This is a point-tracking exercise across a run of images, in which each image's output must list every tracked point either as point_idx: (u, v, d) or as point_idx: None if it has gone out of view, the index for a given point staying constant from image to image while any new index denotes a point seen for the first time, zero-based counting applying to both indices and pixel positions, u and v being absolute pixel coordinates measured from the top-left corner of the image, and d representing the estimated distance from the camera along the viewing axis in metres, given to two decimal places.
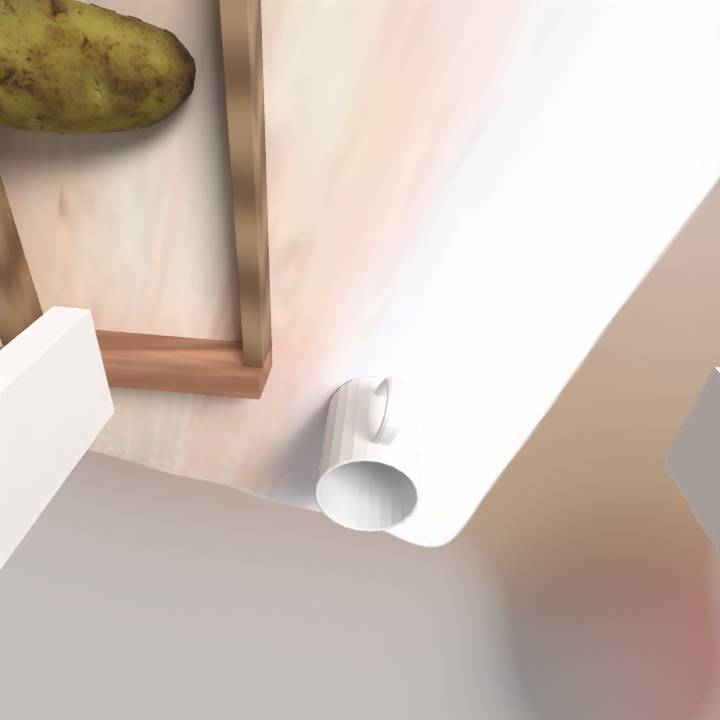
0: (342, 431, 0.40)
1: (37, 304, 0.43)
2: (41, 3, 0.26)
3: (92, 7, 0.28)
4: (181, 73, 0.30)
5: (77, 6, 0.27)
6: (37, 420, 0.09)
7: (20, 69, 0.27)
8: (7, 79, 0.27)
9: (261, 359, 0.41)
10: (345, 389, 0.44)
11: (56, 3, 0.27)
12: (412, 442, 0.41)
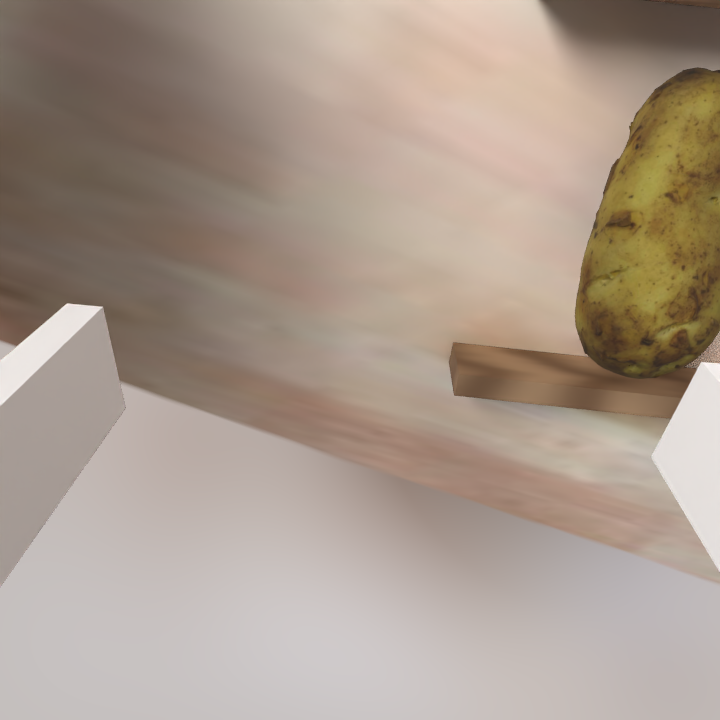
0: None
1: None
2: (615, 237, 0.22)
3: (619, 183, 0.22)
4: None
5: (620, 199, 0.22)
6: (53, 415, 0.09)
7: (692, 280, 0.21)
8: (697, 300, 0.21)
9: None
10: None
11: (616, 221, 0.22)
12: None
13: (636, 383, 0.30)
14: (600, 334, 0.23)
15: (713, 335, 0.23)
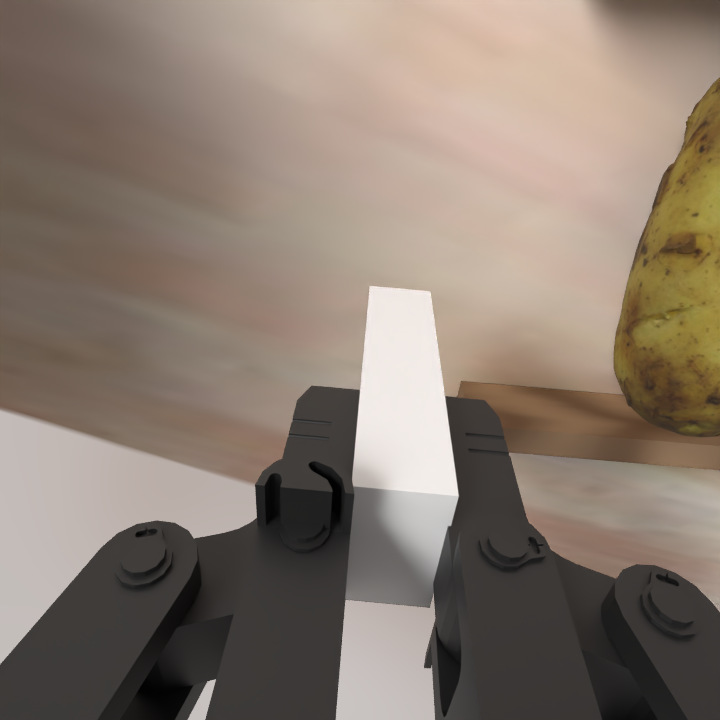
0: None
1: None
2: (675, 267, 0.17)
3: (678, 196, 0.17)
4: None
5: (679, 217, 0.17)
6: None
7: None
8: None
9: None
10: None
11: (676, 246, 0.17)
12: None
13: None
14: (651, 388, 0.18)
15: None
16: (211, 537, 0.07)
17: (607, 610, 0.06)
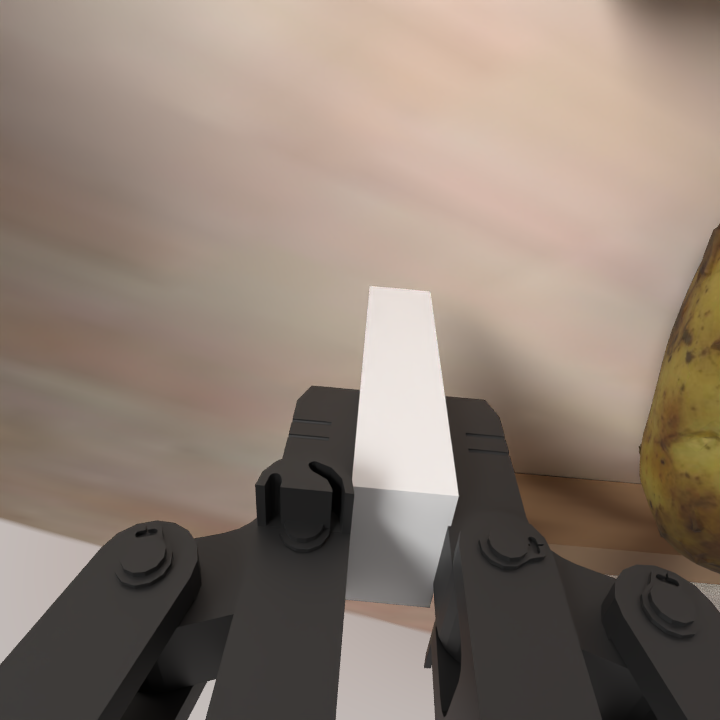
0: None
1: None
2: None
3: None
4: None
5: None
6: None
7: None
8: None
9: None
10: None
11: None
12: None
13: None
14: (698, 531, 0.13)
15: None
16: (211, 537, 0.07)
17: (606, 610, 0.06)
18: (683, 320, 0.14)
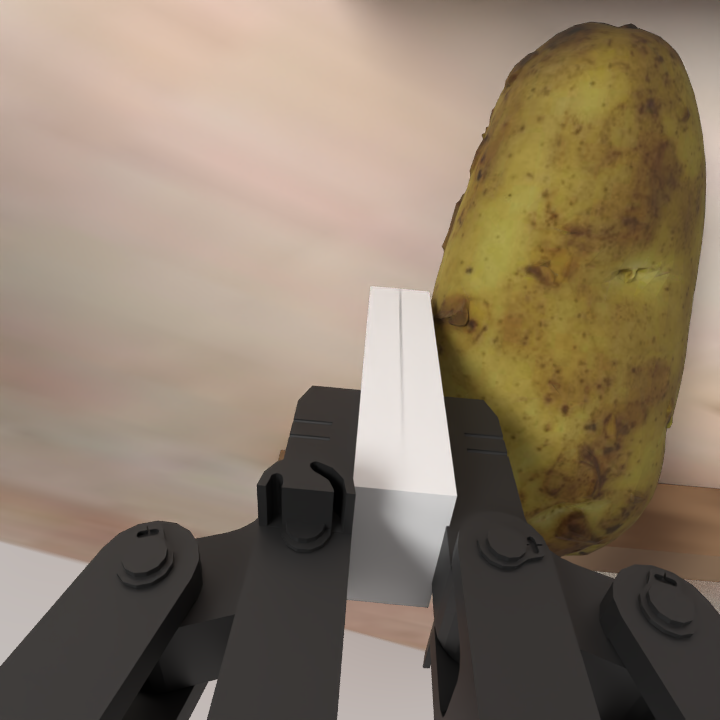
0: None
1: None
2: (447, 343, 0.12)
3: (454, 242, 0.12)
4: (627, 38, 0.10)
5: (454, 272, 0.12)
6: None
7: (584, 433, 0.11)
8: (598, 465, 0.11)
9: None
10: None
11: (448, 314, 0.12)
12: None
13: None
14: None
15: (638, 513, 0.12)
16: (212, 537, 0.07)
17: (604, 610, 0.06)
18: None
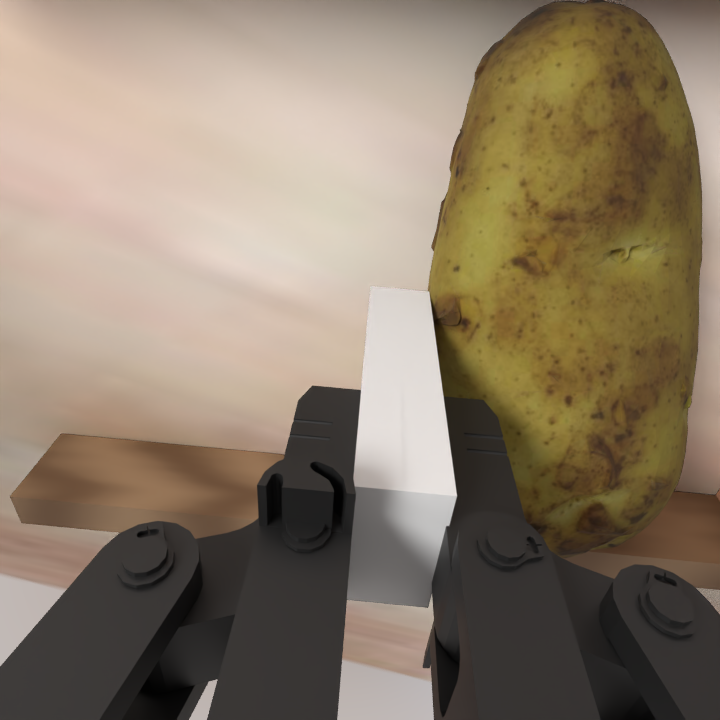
0: None
1: None
2: (443, 345, 0.12)
3: (440, 241, 0.12)
4: (591, 13, 0.10)
5: (442, 272, 0.12)
6: None
7: (592, 422, 0.11)
8: (612, 453, 0.11)
9: None
10: None
11: (441, 314, 0.12)
12: None
13: None
14: None
15: (663, 499, 0.12)
16: (212, 537, 0.07)
17: (604, 610, 0.06)
18: None
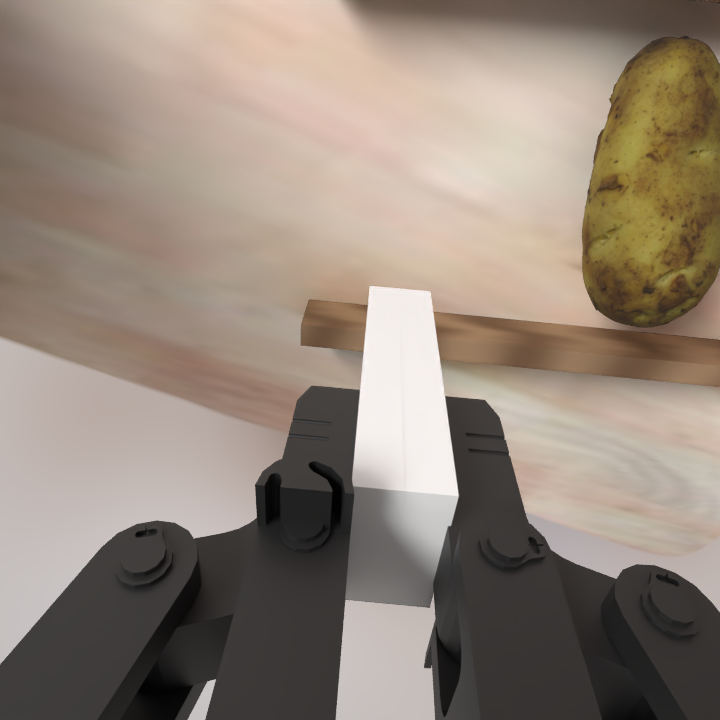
0: None
1: (693, 339, 0.34)
2: (607, 199, 0.24)
3: (605, 151, 0.25)
4: (686, 44, 0.23)
5: (606, 165, 0.24)
6: None
7: (681, 228, 0.23)
8: (689, 245, 0.24)
9: None
10: None
11: (606, 185, 0.24)
12: None
13: (467, 333, 0.32)
14: (605, 289, 0.26)
15: (711, 276, 0.25)
16: (211, 537, 0.07)
17: (607, 611, 0.06)
18: None
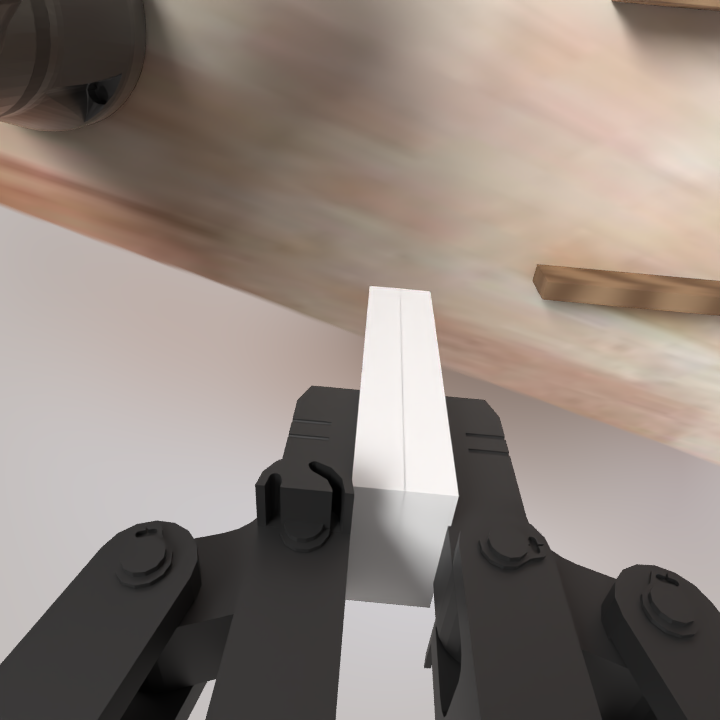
0: None
1: None
2: None
3: None
4: None
5: None
6: None
7: None
8: None
9: None
10: None
11: None
12: None
13: (676, 288, 0.41)
14: None
15: None
16: (211, 537, 0.07)
17: (607, 610, 0.06)
18: None
